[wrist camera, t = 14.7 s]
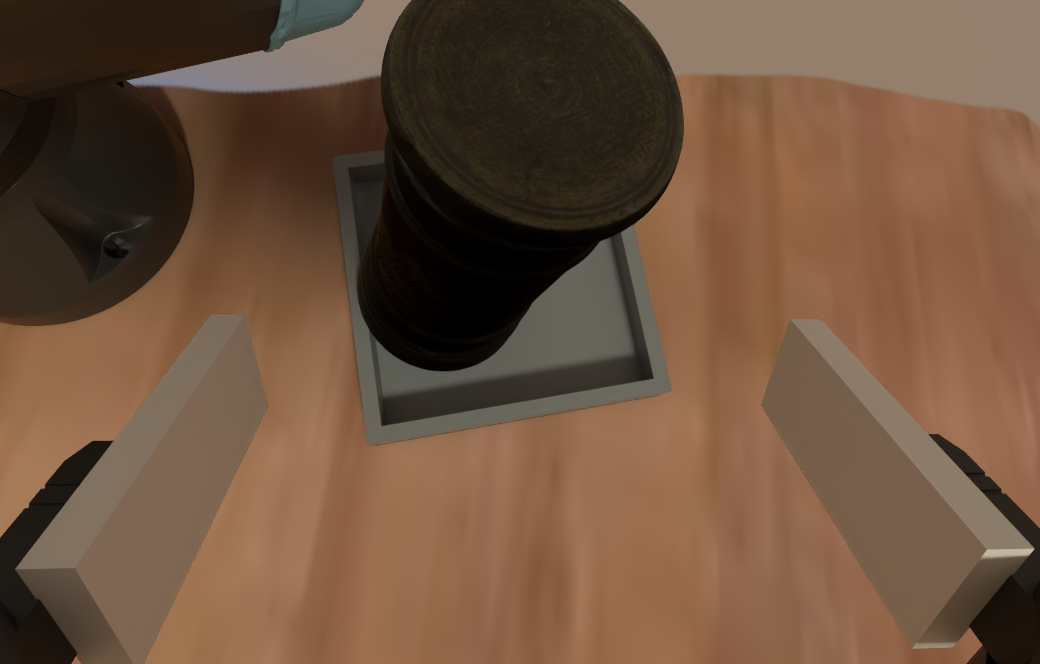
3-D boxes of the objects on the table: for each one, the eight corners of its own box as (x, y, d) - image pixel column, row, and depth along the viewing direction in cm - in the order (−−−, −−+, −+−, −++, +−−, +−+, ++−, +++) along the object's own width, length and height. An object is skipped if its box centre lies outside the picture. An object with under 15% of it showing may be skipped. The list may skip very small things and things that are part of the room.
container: (423, 186, 33) (506, -116, 16) (546, 283, 34) (746, 90, 17) (318, 302, 30) (286, 75, 13) (457, 406, 30) (596, 318, 14)
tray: (376, 445, 31) (367, 444, 29) (342, 177, 34) (331, 156, 32) (657, 395, 33) (671, 390, 30) (600, 143, 36) (609, 121, 34)
